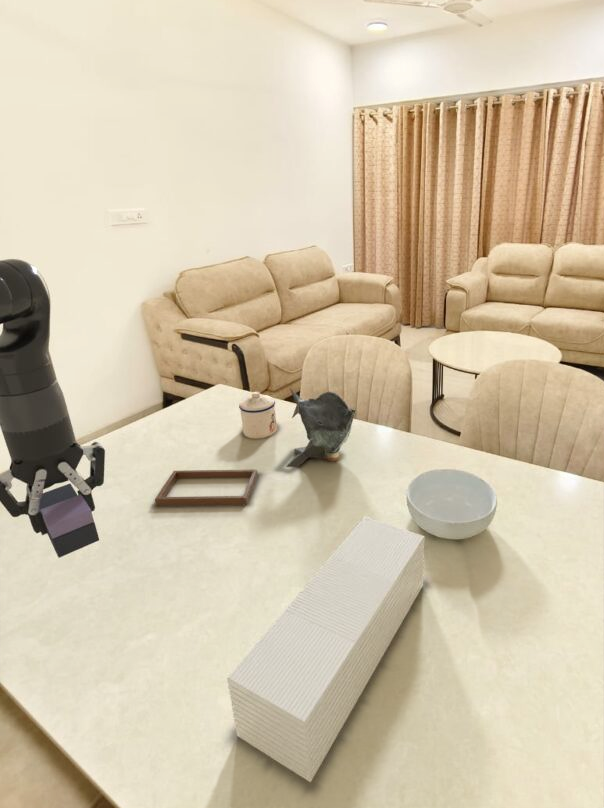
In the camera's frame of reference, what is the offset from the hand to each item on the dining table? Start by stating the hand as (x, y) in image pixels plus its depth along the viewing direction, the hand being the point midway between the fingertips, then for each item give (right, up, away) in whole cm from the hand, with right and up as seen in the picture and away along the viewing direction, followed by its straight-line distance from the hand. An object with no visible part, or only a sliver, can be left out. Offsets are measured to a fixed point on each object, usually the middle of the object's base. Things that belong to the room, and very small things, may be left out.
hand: (66, 522), depth 72 cm
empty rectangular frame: (+9, -5, +36) cm, 37 cm away
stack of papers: (+40, -19, -1) cm, 44 cm away
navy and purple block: (0, -1, 0) cm, 1 cm away
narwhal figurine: (+32, 0, +47) cm, 57 cm away
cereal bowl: (+59, -8, +25) cm, 65 cm away
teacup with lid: (+14, +6, +62) cm, 63 cm away
